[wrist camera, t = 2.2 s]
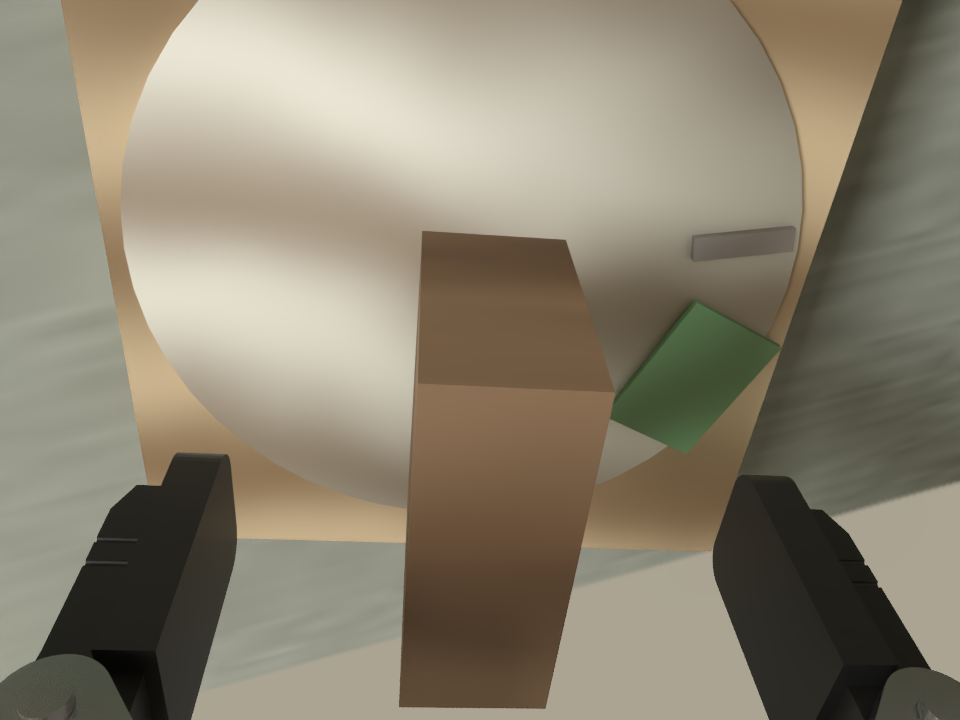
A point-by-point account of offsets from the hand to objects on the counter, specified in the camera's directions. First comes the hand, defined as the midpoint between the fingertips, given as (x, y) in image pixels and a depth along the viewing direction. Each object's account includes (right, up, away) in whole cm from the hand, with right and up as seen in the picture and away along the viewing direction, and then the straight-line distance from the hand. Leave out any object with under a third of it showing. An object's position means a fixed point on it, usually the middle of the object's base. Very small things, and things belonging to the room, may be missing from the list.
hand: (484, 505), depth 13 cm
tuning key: (-1, +3, +8) cm, 8 cm away
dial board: (-1, +7, +10) cm, 12 cm away
